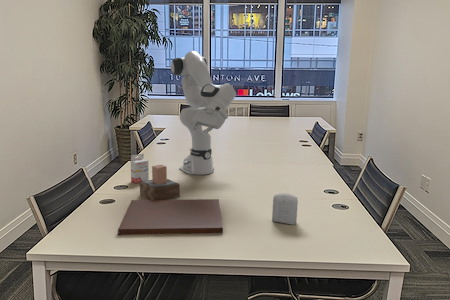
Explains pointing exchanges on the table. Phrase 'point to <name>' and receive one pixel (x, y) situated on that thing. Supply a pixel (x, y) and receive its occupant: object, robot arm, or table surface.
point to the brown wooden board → (172, 217)
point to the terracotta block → (159, 174)
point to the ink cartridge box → (139, 169)
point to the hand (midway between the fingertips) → (198, 131)
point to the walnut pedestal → (159, 190)
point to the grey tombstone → (285, 208)
